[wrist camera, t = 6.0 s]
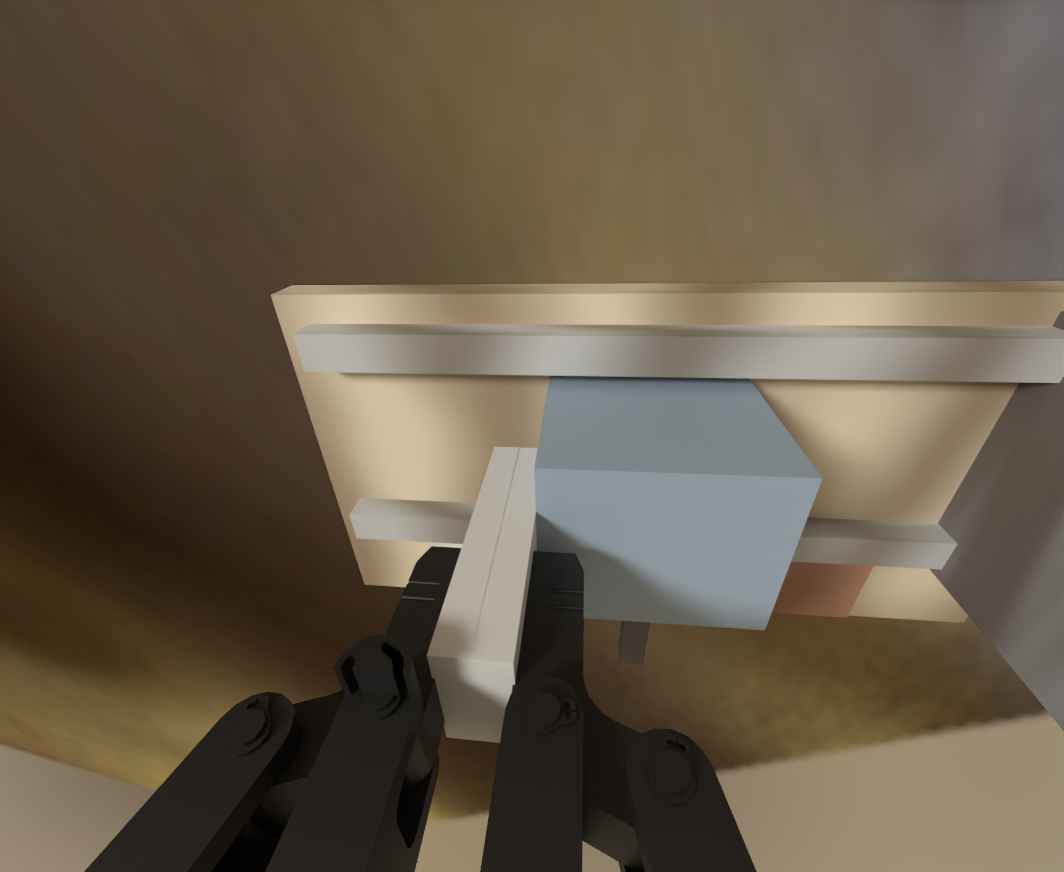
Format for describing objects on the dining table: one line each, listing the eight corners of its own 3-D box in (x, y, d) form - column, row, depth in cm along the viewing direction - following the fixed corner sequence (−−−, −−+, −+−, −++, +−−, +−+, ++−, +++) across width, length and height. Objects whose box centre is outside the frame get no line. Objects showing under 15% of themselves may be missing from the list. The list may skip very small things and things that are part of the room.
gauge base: (375, 564, 22) (292, 724, 16) (292, 285, 15) (89, 374, 9) (943, 598, 19) (1110, 804, 13) (1155, 280, 12) (1706, 400, 6)
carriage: (551, 579, 19) (541, 699, 15) (549, 375, 14) (534, 468, 10) (698, 588, 18) (732, 716, 14) (748, 378, 14) (822, 478, 9)
